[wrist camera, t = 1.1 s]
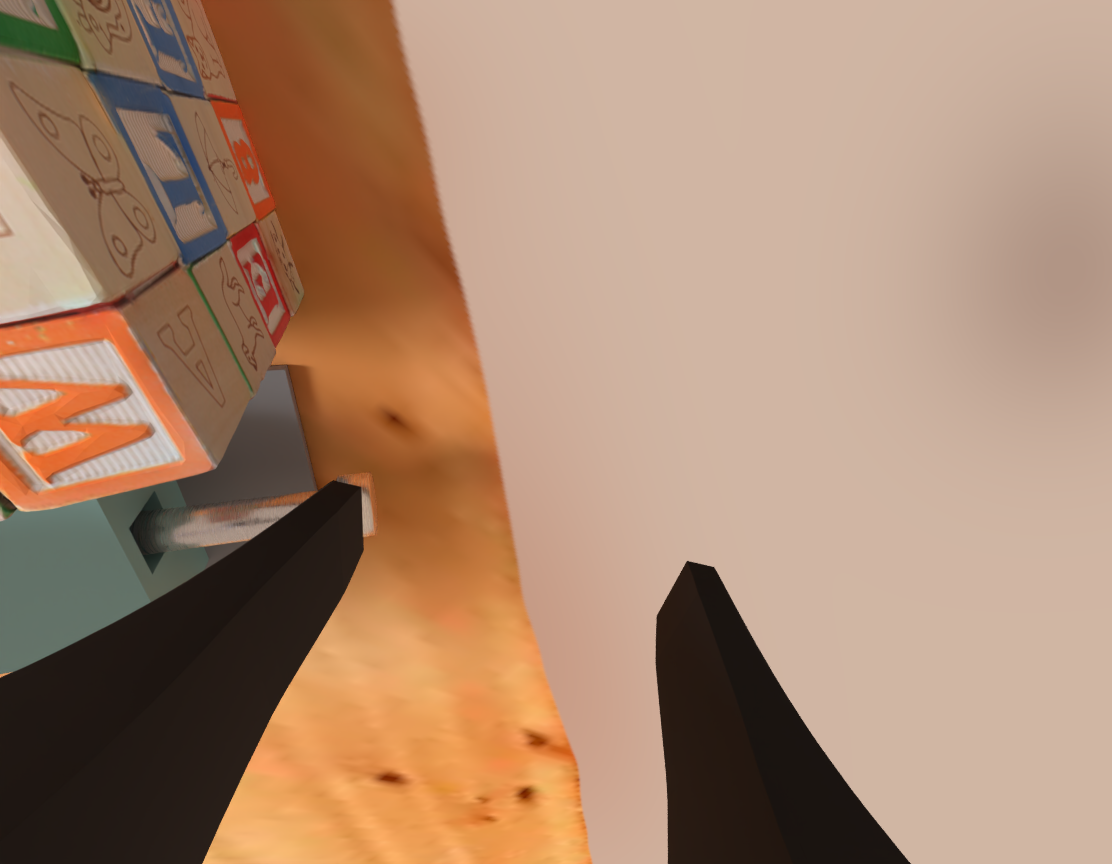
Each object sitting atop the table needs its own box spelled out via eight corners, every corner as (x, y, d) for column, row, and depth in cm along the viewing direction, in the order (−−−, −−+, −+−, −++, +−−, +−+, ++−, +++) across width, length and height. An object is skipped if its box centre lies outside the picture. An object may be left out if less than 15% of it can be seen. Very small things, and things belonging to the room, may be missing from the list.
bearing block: (36, 594, 21) (-48, 702, 17) (-108, 386, 16) (-276, 470, 12) (332, 550, 25) (320, 633, 20) (287, 364, 20) (259, 425, 15)
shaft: (88, 546, 19) (49, 598, 17) (57, 493, 18) (11, 541, 16) (377, 508, 22) (376, 548, 20) (369, 460, 21) (367, 497, 18)
